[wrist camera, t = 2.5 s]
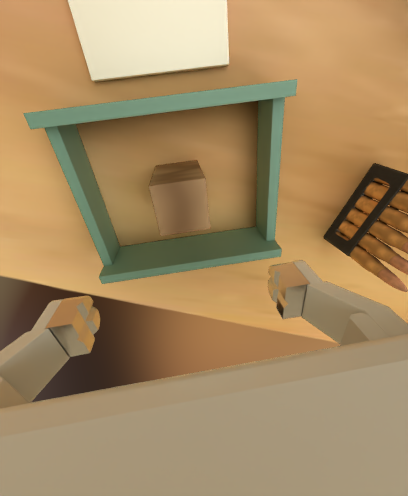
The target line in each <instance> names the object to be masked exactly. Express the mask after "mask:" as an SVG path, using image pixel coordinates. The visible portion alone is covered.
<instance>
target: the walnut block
mask: <svg viewBox="0 0 408 496" xmlns="http://www.w3.org/2000/svg"><path fill="white" fill-rule="evenodd" d="M149 189H150V193H151V198H152V202H153V206H154V210H155V214H156V218H157V222H158V227H159V231H160V235H161V236H165V235H172V234H178V233H185V232H192V231H199V230H205V229H211V228H210V218H209V209H208V199H207V189H206V180H205V176H204V174H203V172H202V170H201V168H200V166H199V163H198V161H197V160H194V161H186V162H179V163H172V164H164V165H157V166H156V167H155V170H154V173H153V176H152V179H151V181H150V184H149Z"/></svg>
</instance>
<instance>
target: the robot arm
mask: <svg viewBox="0 0 408 496" xmlns="http://www.w3.org/2000/svg"><path fill="white" fill-rule="evenodd" d="M268 273H269V275H270V279H269V280H268V290H269V294H270V296H271V298H272V300H273V301H275V302H276V303H277V307H276V308H277V309H278V311H279V313H280V315H281V317H282V319H286V318H293V317H300V316H302V318H304V319H305V320H306V321H308V322H309V323H311V324H312V325H314V326H315V327H316V328H318V329H319V330H321V331H322V332H323V333H325V334H326V335H328V336H329V337H331V338H332V339H333V340H335V341H336V342H338V343H339V344H340V346H338V347H332V348H327V349H322V350H316V351H310V352H305V353H300V354H294V355H288V356H283V357H277V358H272V359H267V360H261V361H256V362H251V363H245V364H239V365H235V366H229V367H223V368H218V369H212V370H207V371H201V372H197V373H191V374H185V375H180V376H175V377H169V378H163V379H158V380H152V381H147V382H141V383H136V384H130V385H125V386H119V387H114V388H108V389H103V390H98V391H92V392H87V393H82V394H76V395H70V396H65V397H59V398H54V399H49V400H43V401H38V402H32V403H31V401H32V400H33V399H34V398H35V397H36V396H37V395H38V394H39V392H40V391H41V390H42V389H43V388H44V387H45V386H46V384H47V383H48V382H49V381H50V380H51V379H52V378H53V376H54V375H55V374H56V373H57V372H58V371H59V370H60V368H61V367H62V366H63V365H64V364H65V363H66V362H67V360H68V359H69V357H72V356H77V355H82V354H87V353H90V352H91V349H92V346H93V343H94V340H95V338H94V336H93V334H95V333H96V331H97V330H98V329H99V325H100V316H99V312H98V310H97V309H96V308H94V307H92V304H93V301H92V299H91V297H90V296H82V297H75V298H68V299H61V300H55V301H52V302H50V303H49V304H48V306H47V307H46V309H45V310H44V312H43V314H42V315H41V316H40V318H39V320H38V321H37V323H36V324H35V326H34V327H33V329H32V330H31V331H30V332H26V333H25V334H23V335H22V336H21V337H19V338H18V339H17V340H16V341H14V342H13V343H11V344H10V345H8V346H7V347H6V348H4V349H3V350H2V351H0V496H408V324H407V323H406V322H405V321H404V320H403V319H402V318H400V317H399V316H398V315H397V314H396V313H395V312H394V311H393V310H391V309H390V308H389V307H387V306H385V305H382V304H380V303H378V302H375V301H373V300H370V299H368V298H365V297H363V296H361V295H358V294H356V293H353V292H351V291H349V290H346V289H344V288H341V287H339V286H336V285H334V284H332V283H329V282H327V281H326V282H323V281H322V280H321V279H320V278H319V277H318V276H317V275H316V273H315V272H314V271H313V270H312V269H311V268H310V267H309V266H308V265H307V264H306V262H305V261H303V260H299V261H294V262H290V263H284V264H278V265H272V266H270V267H269V272H268Z"/></svg>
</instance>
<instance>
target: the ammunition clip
mask: <svg viewBox="0 0 408 496" xmlns="http://www.w3.org/2000/svg"><path fill="white" fill-rule="evenodd" d="M383 184H384V185H387V186H390V187H387V186H384V185H383ZM399 190H401V191H399ZM372 198H373V199H376V200H378V201H379V202H378V201H376V200H373V199H372ZM388 205H390V207H389V206H388ZM398 210H402V211H404V212H407V213H408V174H407V173H403V172H400V171H397V170H394V169H391V168H388V167H385V166H382V165H379V164H376V163H374V164H373V165H372V167H371V168H370V170H369V171H368V173H367V174H366V176H365V177H364V178H363V180H362V181H361V183H360V184H359V186H358V187H357V189H356V190H355V192H354V193H353V195H352V196H351V197H350V199H349V200H348V202H347V203H346V205H345V206H344V208H343V209H342V211H341V212H340V214H339V215H338V216H337V218H336V219H335V221H334V222H333V224H332V225H331V227H330V228H329V230H328V231H327V233H326V234H325V235H324V239H326V240H327V241H328V242H330V243H331V244H332V245H334V246H335V247H336V248H338V249H339V250H341V251H342V252H343V253H345V254H346V255H347V256H350V257H351V258H352V259H354V260H355V261H356V262H357V263H359V264H360V265H361V266H362V267H363V268H365V269H366V270H368V271H370V272H372V273H373V274H375V275H376V276H377V277H379V278H380V279H382V280H383V281H384V282H386V283H387V284H389V285H391V286H392V287H394V288H396V289H398V290H401V291H404V292H407V291H408V290H407V288H406V286H405V285H404V283H403V282H402V281H401V280H400V279H399V278H398V277H397V276H396V275H395V274H394V273H392V272H391V271H390V270H389V269H388V268H386V267H385V266H384V265H383V264H382V263H381V262H380V261H379V260H378V259H377V258H379V259H381V260H383V261H385V262H387V263H388V264H390V265H392V266H393V267H395V268H396V269H398V270H400V271H402V272H404V273H406V274H408V261H407V260H405V259H404V258H402V257H401V256H400V255H399V254H397V253H396V252H394V251H393V250H392V249H391V248H390V247H389V246H388V245H390V246H393V247H396V248H398V249H400V250H402V251H404V252H406V253H407V254H408V238H407V237H406V236H405V235H403V234H402V233H401V232H399V231H397V230H395V229H394V228H396V229H398V230H400V231H402V232H406V233H408V215H407V214H405V213H403V212H400V211H398ZM364 212H365V213H364ZM366 213H367V214H366ZM368 214H369V215H368ZM377 219H379V220H377ZM354 224H355V225H354ZM387 224H388V225H390V226H392V227H394V228H392V227H390V226H388V225H387ZM356 225H357V226H356ZM358 226H359V227H360V228H359V227H358ZM367 232H369V233H367ZM348 237H349V238H348ZM376 237H377V238H378V239H380V240H382V241H383V242H385V243H387V244H388V245H386V244H384V243H383V242H381V241H380V240H378V239H377V238H376ZM366 250H367V251H368V252H367V251H366ZM369 252H370V253H371V254H373V255H374V256H375V257H374V256H373V255H371V254H370V253H369ZM376 257H377V258H376Z"/></svg>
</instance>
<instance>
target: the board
mask: <svg viewBox="0 0 408 496" xmlns="http://www.w3.org/2000/svg"><path fill="white" fill-rule="evenodd" d="M68 3H69V6H70V9H71V13H72V16H73V19H74V23H75V26H76V29H77V33H78V36H79V39H80V42H81V46H82V49H83V52H84V56H85V59H86V62H87V66H88V69H89V72H90V76H91V79H92V81H95V82H98V81H106V80H114V79H123V78H131V77H139V76H148V75H156V74H164V73H172V72H181V71H189V70H197V69H206V68H214V67H222V66H227V65H228V64H229V46H228V19H227V0H68Z"/></svg>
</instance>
